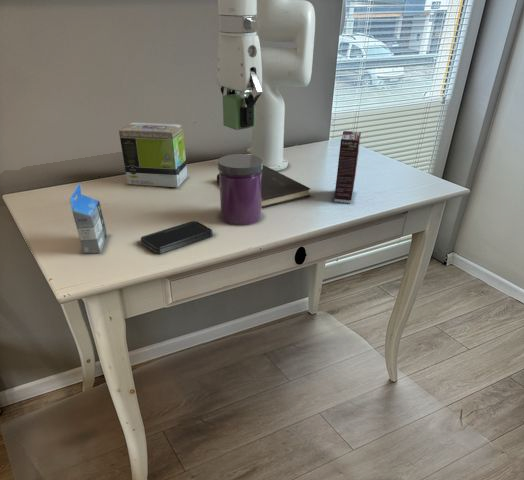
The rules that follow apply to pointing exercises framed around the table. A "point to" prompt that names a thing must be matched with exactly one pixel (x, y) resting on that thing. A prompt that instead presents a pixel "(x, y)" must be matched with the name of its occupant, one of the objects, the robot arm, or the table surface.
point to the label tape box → (88, 221)
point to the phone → (176, 237)
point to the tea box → (154, 154)
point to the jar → (240, 188)
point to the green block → (233, 111)
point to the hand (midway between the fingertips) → (239, 123)
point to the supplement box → (347, 166)
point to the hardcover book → (279, 188)
